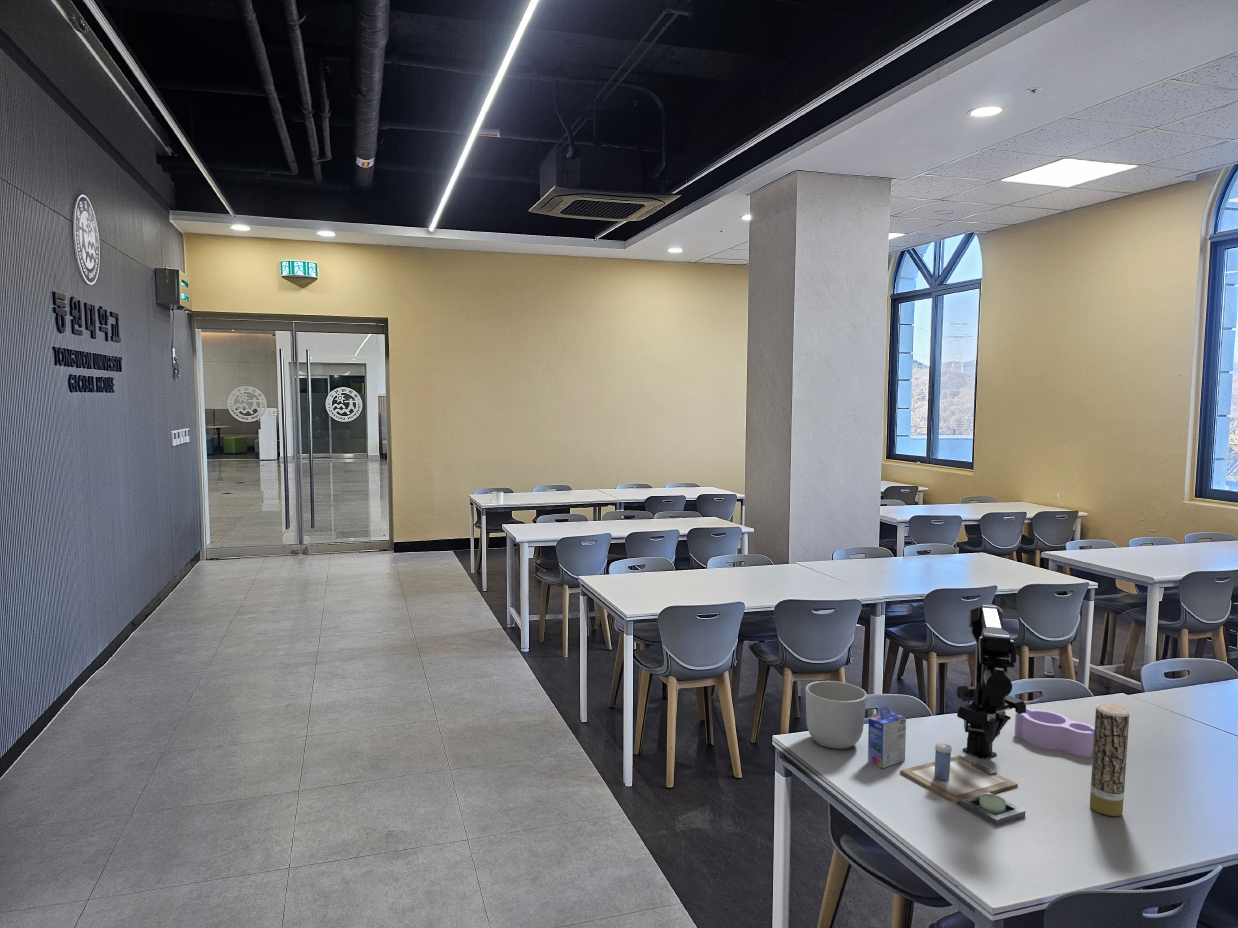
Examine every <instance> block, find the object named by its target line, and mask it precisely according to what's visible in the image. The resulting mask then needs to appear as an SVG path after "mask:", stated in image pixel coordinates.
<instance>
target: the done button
mask: <svg viewBox="0 0 1238 928" xmlns="http://www.w3.org/2000/svg"><path fill="white" fill-rule="evenodd" d="M1006 801H1007V800H1005V799H1004V798H1003V797H1001V796H1000V795H996V794H982V795H981V796H980V805H978V807H980V808H982V809H984V810H986V811H988V812H990V813H991V814H993V815H998V814H1002V813H1005V812H1006V810H1005V809H1006Z"/></svg>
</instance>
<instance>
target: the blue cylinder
mask: <svg viewBox="0 0 1238 928" xmlns="http://www.w3.org/2000/svg"><path fill="white" fill-rule="evenodd" d="M934 749H935V754H934V762H935V772H934V777H935V778H936V779H937V780H939V781H948V780H949V777H950V758H951V757H952V756H951V755H952V754H951V753H952V746H951V745H950V744H947V743H944V742H938V743H935V747H934Z"/></svg>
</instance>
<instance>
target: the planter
mask: <svg viewBox="0 0 1238 928" xmlns="http://www.w3.org/2000/svg"><path fill="white" fill-rule="evenodd" d="M867 701H868V693H867V692H866V691H865V689H863V688H861V687H860V686H857V685H854V684H852V683H848V682H843V681H836V680H818V681H813V682H810V683H808V684H807V685H806V686H805V715H806V720H805V721H806V726H807V727H806V728H807V730H808V733H809V735H810V736H811V738H812V740H814V742H816V743H817V744H819V745H820V746H823V747H825V748H828V749H835V750H844V749H849V748H851V747H853V746H855V745H856V744H857V743H858V742H859V741H860V739H861V737H862V735H863V732H864V725H865V717H866V709H867V708H866V707H867Z"/></svg>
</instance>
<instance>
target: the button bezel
mask: <svg viewBox="0 0 1238 928" xmlns="http://www.w3.org/2000/svg"><path fill="white" fill-rule="evenodd" d="M984 794H991V793H990V792H988V793H984ZM981 795H982V794H981ZM981 795H977V796H974V797H970V798H967V799H963V800H960V804H959V807H960V808H962V809H964V810H966V811H968V812H970V813H971V814H973V815H975V816H977V817H978V818H980V819H982V820H984V821H985V822H988V823H989V824H991V825H993V826H994V827H998V826H1001V825H1004V824H1008V823H1011V822H1014V821H1018V820H1020V819H1023V818H1026V810H1025V809H1022V808H1020V807H1019V806H1017V805H1015V804H1013V803H1010V802H1009V801H1007V800H1005V801H1006V809H1005V813H1002V814H998V815H993V814H991V813H990V812H988V811H986V810H984V809H982V808H980V807H979V805H980V796H981Z"/></svg>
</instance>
